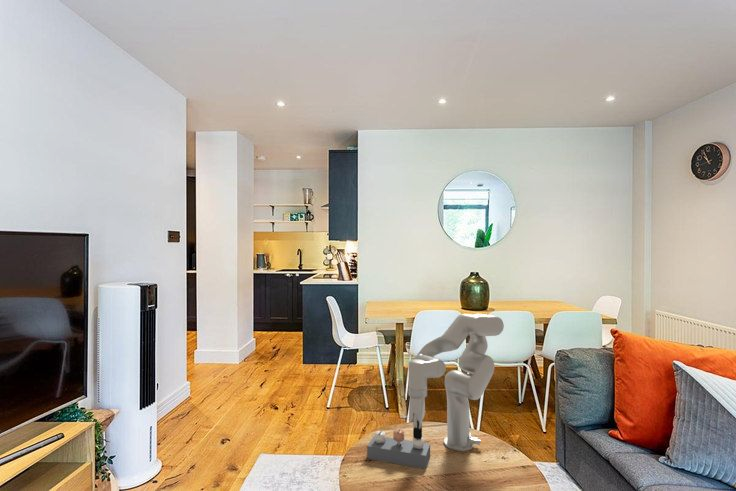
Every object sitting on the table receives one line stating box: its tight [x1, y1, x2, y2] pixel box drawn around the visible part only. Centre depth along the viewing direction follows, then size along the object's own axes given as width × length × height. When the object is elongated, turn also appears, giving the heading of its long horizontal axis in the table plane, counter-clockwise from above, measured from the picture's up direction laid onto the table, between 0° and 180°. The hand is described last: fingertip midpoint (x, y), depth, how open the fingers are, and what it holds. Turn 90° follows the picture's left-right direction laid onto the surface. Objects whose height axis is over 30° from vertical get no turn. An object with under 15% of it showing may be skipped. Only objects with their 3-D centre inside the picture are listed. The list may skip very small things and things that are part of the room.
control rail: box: [366, 434, 431, 470], centre depth 157 cm, size 24×10×5 cm, turn 71°
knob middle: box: [392, 428, 405, 446], centre depth 157 cm, size 4×4×6 cm
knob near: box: [412, 436, 425, 449], centre depth 154 cm, size 4×4×6 cm
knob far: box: [374, 430, 386, 443], centre depth 159 cm, size 4×4×6 cm
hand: (417, 437), depth 154 cm, fingers closed
